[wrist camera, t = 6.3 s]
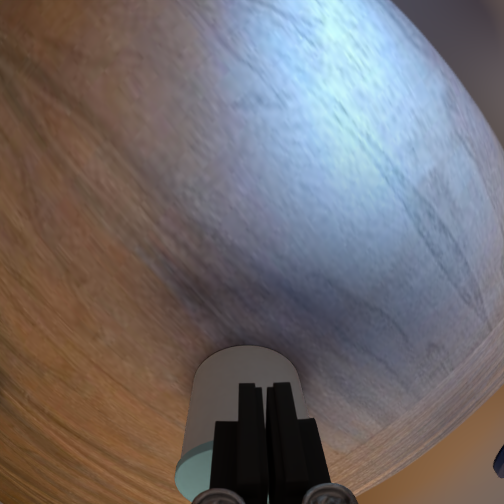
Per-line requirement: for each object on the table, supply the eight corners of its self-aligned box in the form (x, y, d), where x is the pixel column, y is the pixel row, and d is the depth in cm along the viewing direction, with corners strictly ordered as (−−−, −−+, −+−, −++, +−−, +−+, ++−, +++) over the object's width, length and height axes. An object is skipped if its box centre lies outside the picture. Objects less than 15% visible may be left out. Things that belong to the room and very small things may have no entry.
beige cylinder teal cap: (197, 379, 23) (176, 306, 16) (292, 379, 24) (320, 307, 16) (193, 510, 16) (160, 520, 9) (302, 509, 16) (347, 515, 9)
